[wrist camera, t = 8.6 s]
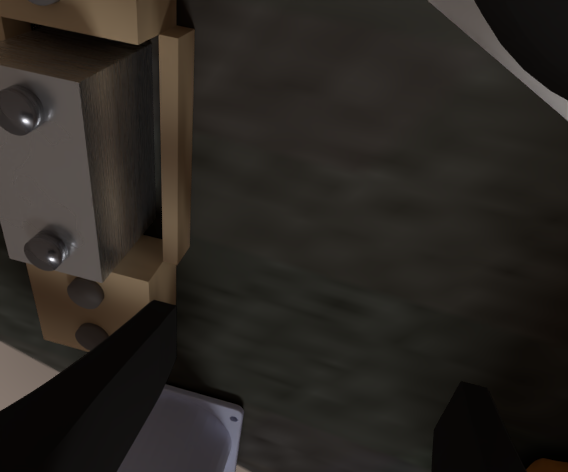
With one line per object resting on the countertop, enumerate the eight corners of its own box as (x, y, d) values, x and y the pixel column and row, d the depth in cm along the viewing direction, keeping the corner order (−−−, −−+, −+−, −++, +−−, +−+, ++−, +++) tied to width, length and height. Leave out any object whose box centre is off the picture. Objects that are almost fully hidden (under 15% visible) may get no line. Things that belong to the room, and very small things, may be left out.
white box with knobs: (157, 216, 23) (94, 293, 19) (79, 197, 23) (-1, 267, 19) (152, 42, 18) (67, 89, 14) (55, 22, 19) (-59, 60, 14)
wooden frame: (187, 331, 27) (161, 379, 24) (65, 298, 28) (26, 341, 25) (199, -190, 14) (146, -211, 11) (-32, -225, 15) (-133, -253, 12)
